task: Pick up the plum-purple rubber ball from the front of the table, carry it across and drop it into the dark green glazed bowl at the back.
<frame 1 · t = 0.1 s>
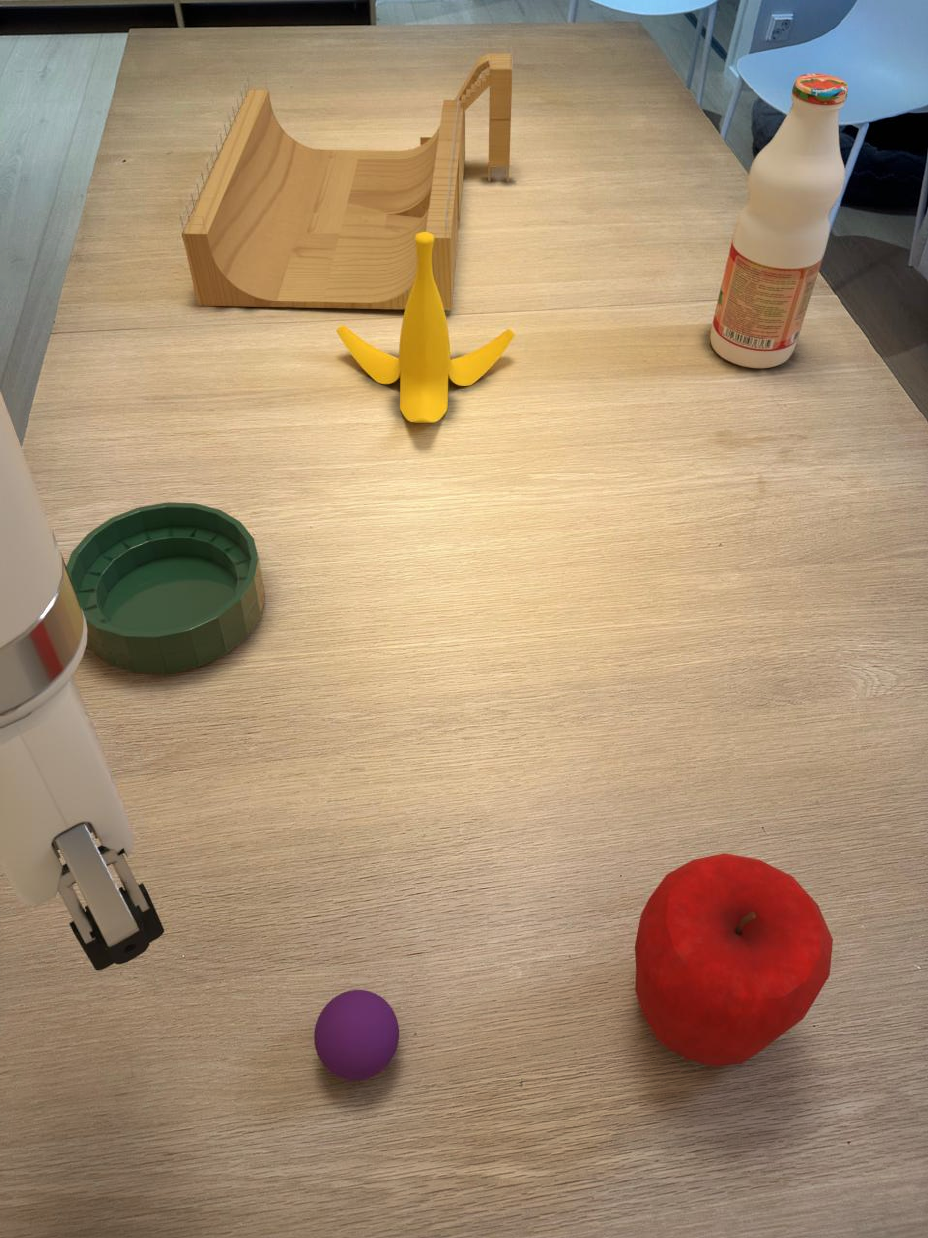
hand: (87, 865, 48), 20 cm above the table, tool pointing down, fingers open, 9 cm apart
banana peel: (424, 399, 107), on the table
apple: (698, 1009, 65), on the table
milk bottle: (750, 348, 115), on the table
ball: (356, 1034, 60), point 2 cm above the table
bowl: (173, 607, 86), on the table
skate ramp: (368, 229, 131), on the table
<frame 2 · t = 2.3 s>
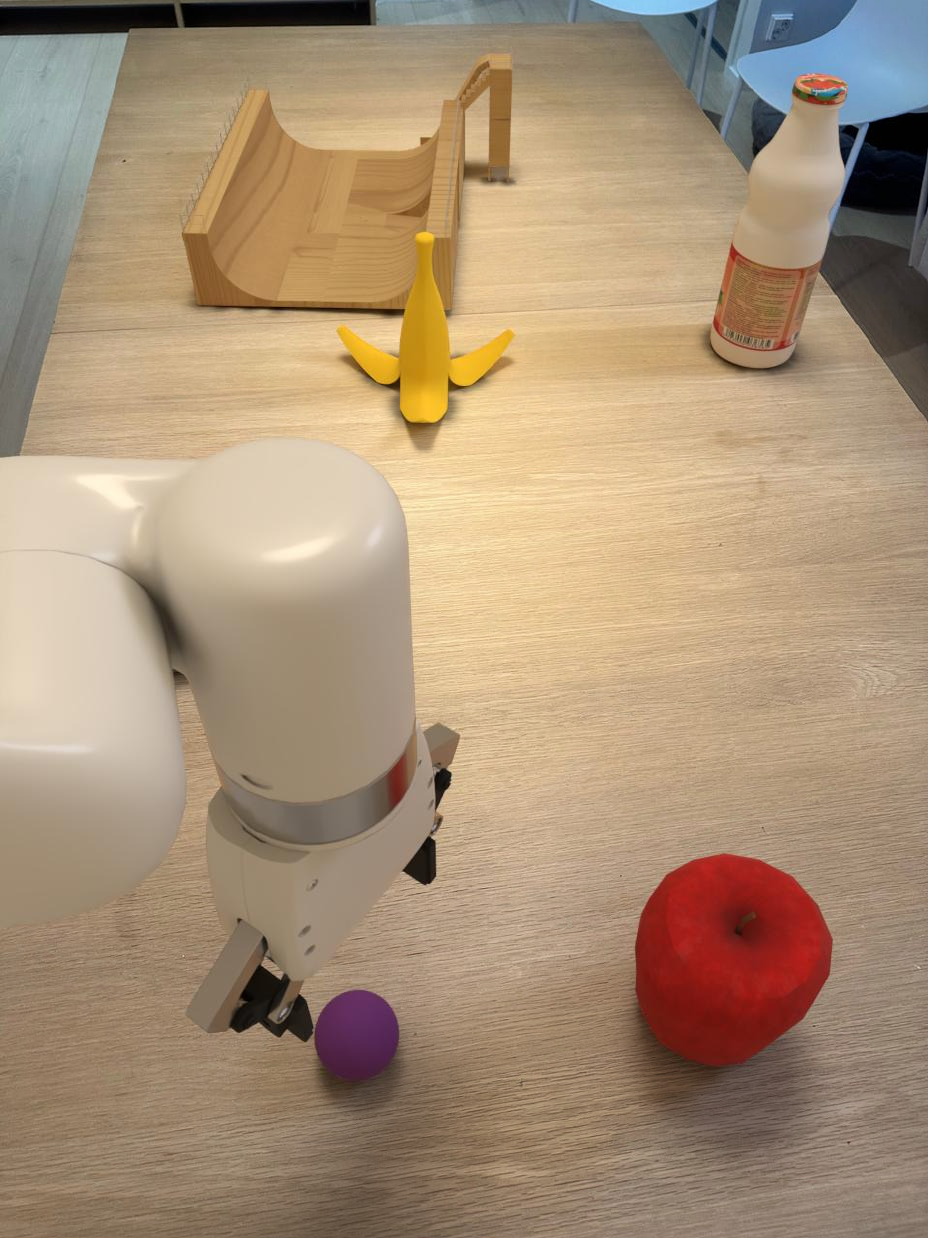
hand: (350, 939, 51), 15 cm above the table, tool pointing down, fingers open, 9 cm apart
nothing on the table moved.
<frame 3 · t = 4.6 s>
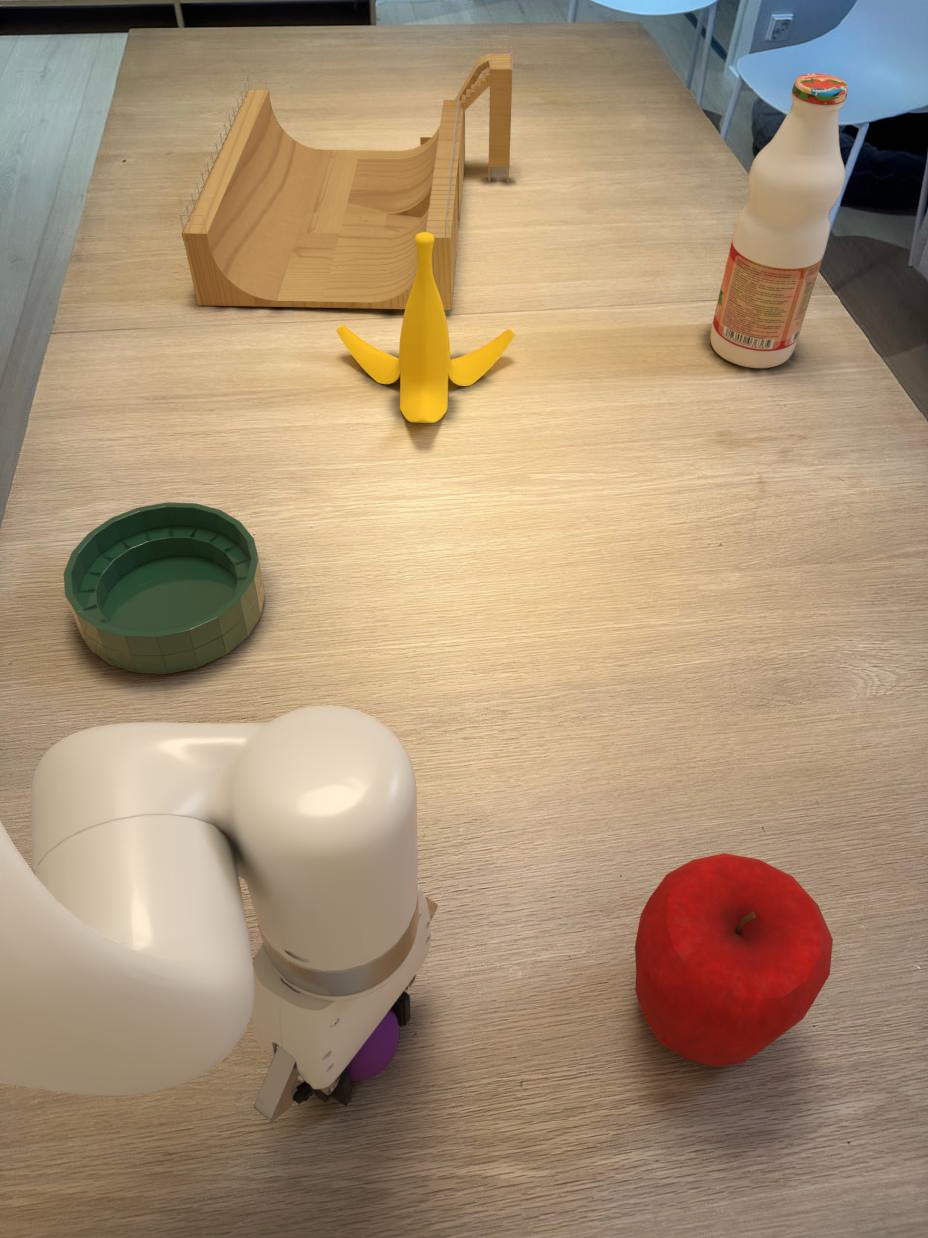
hand: (358, 1046, 62), 1 cm above the table, tool pointing down, fingers closed on ball, 4 cm apart
ball: (357, 1035, 60), point 2 cm above the table, touching gripper
everything else where it was.
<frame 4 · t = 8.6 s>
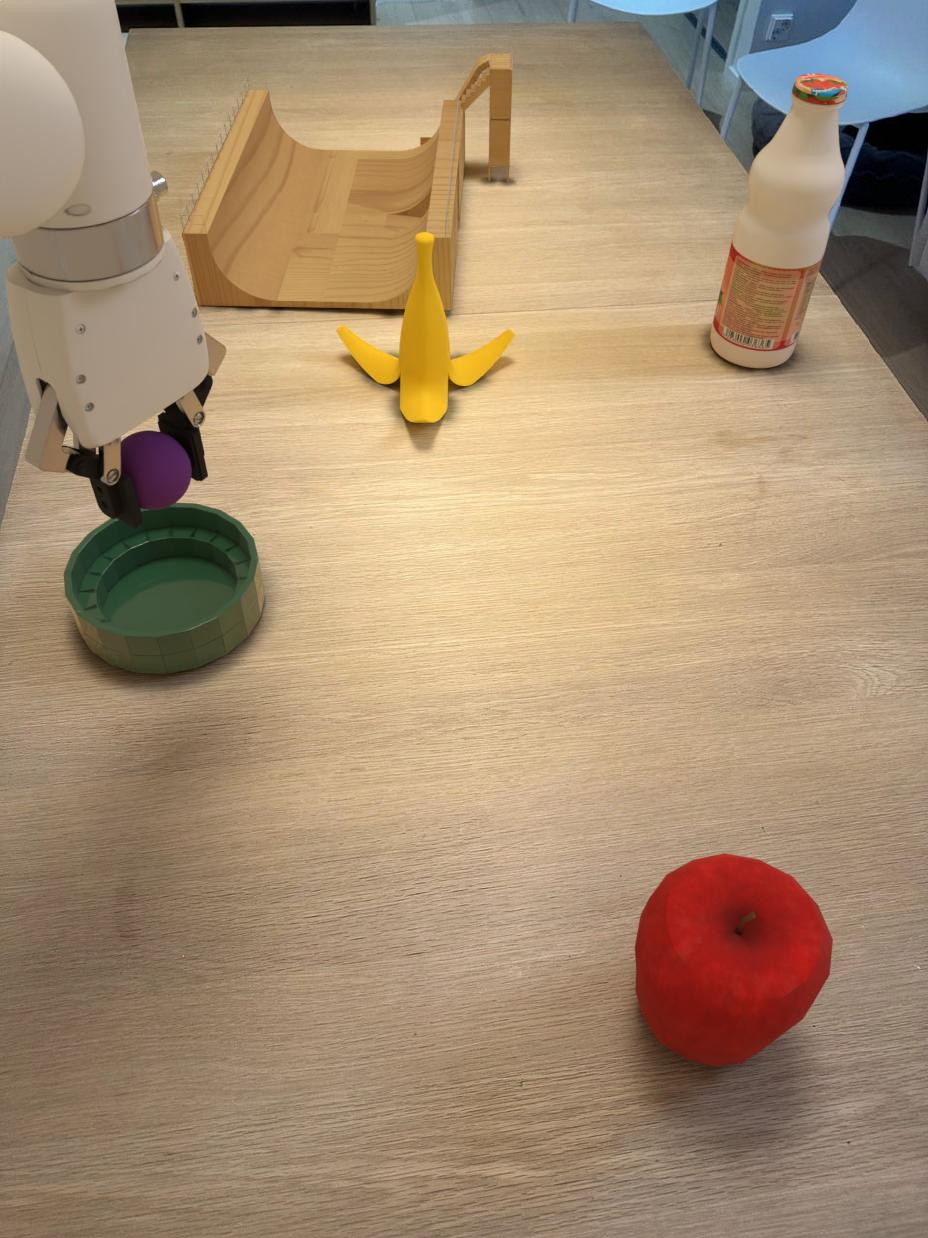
hand: (156, 491, 66), 20 cm above the table, tool pointing down, fingers closed on ball, 4 cm apart
ball: (151, 470, 65), point 22 cm above the table, touching gripper
everything else where it was.
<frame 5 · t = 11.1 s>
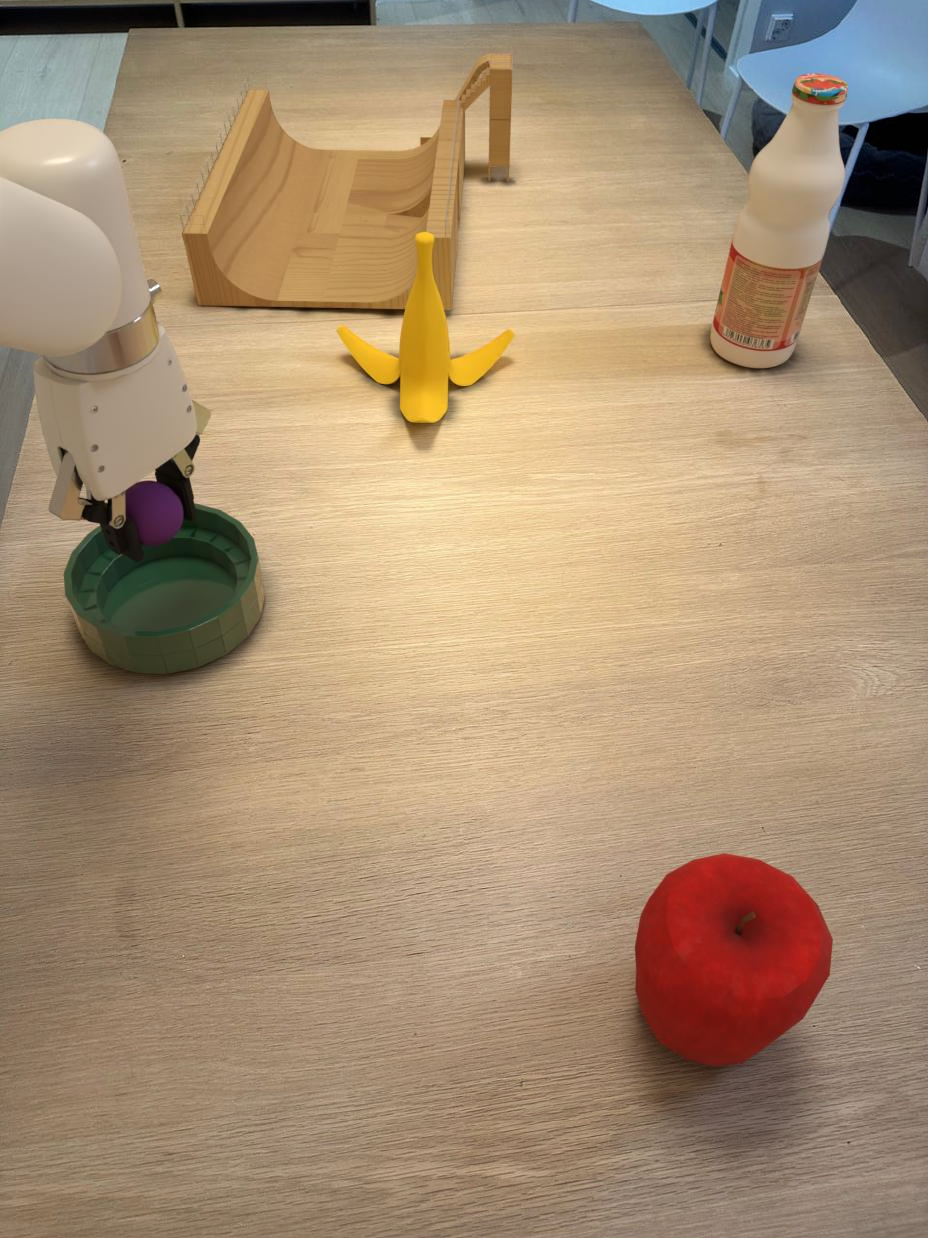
hand: (154, 530, 80), 9 cm above the table, tool pointing down, fingers closed on ball, 4 cm apart
ball: (149, 513, 78), point 11 cm above the table, touching gripper
everything else where it was.
when the fingers open (3 cm above the table, at t = 13.0 s): ball drops 2 cm, resting on bowl.
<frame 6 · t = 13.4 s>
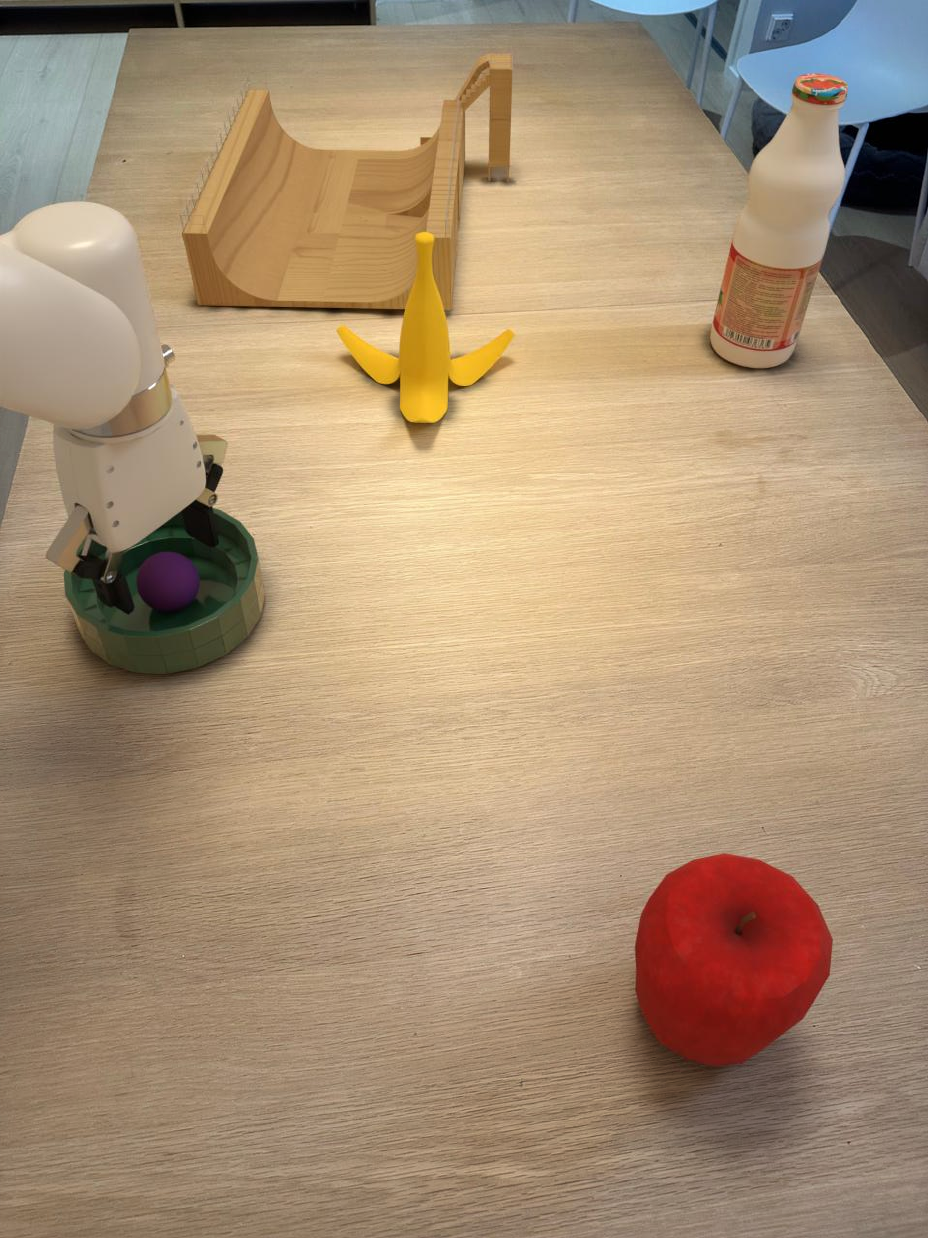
hand: (162, 570, 83), 4 cm above the table, tool pointing down, fingers open, 8 cm apart
ball: (168, 582, 84), point 3 cm above the table, touching bowl
everything else where it was.
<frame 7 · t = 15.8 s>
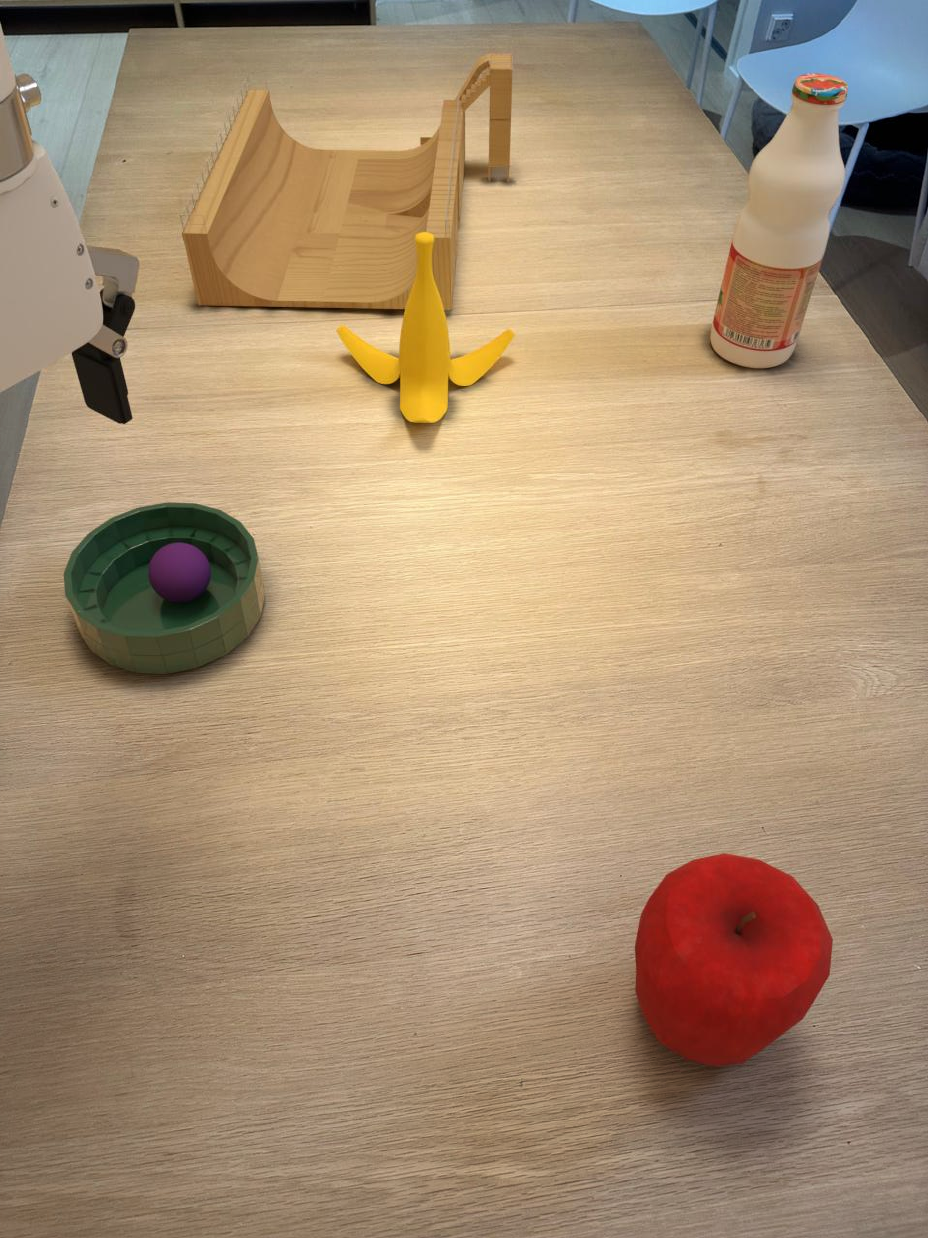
hand: (42, 456, 56), 28 cm above the table, tool pointing down, fingers open, 9 cm apart
ball: (179, 572, 85), point 3 cm above the table, tilted 35°, touching bowl
everything else where it was.
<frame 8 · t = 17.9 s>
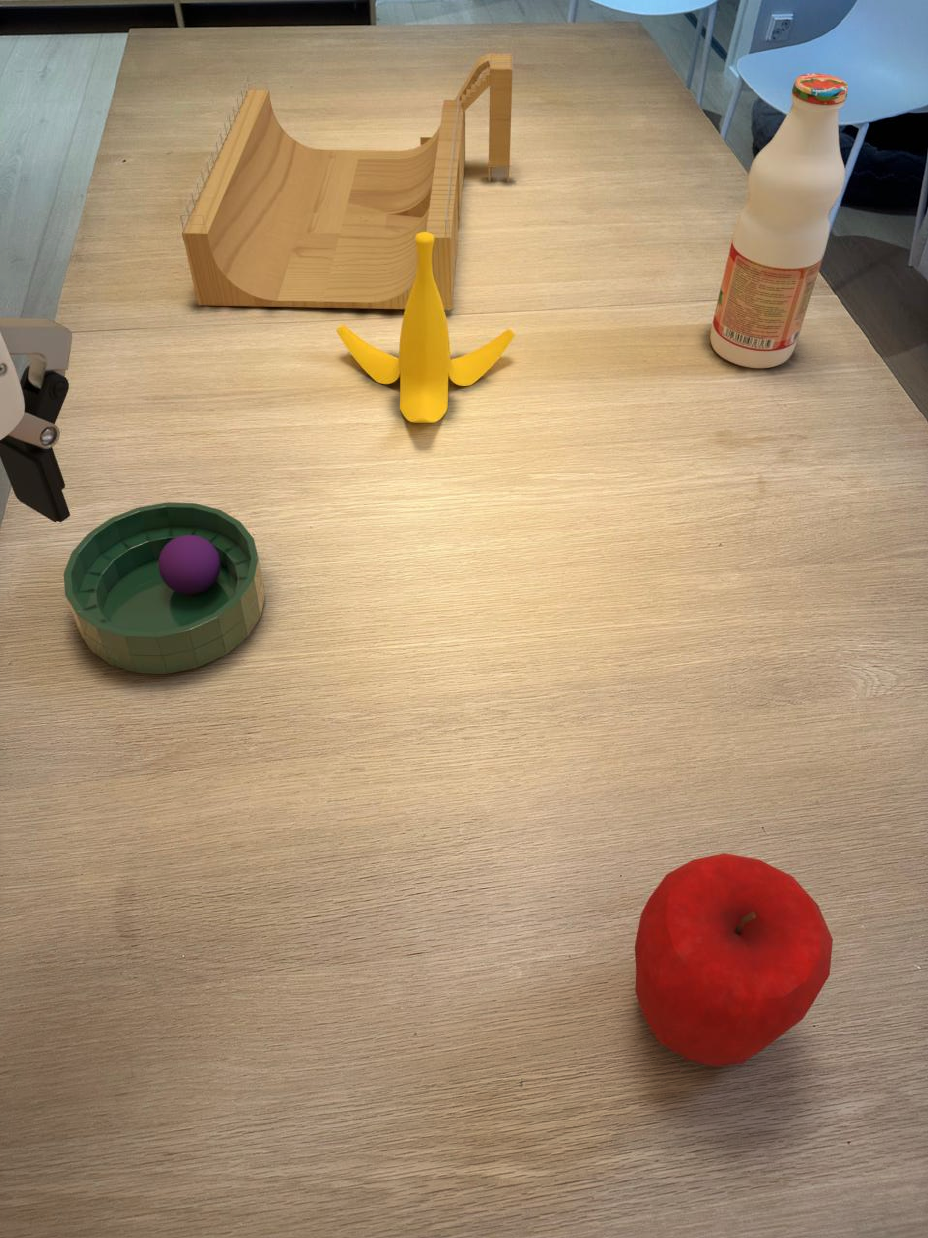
ball: (189, 564, 85), point 3 cm above the table, tilted 61°, touching bowl
everything else where it was.
at the end: ball inside the target area in the bowl (2.5 cm from its centre), point 3.0 cm above the bowl's base; the gripper is holding nothing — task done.
